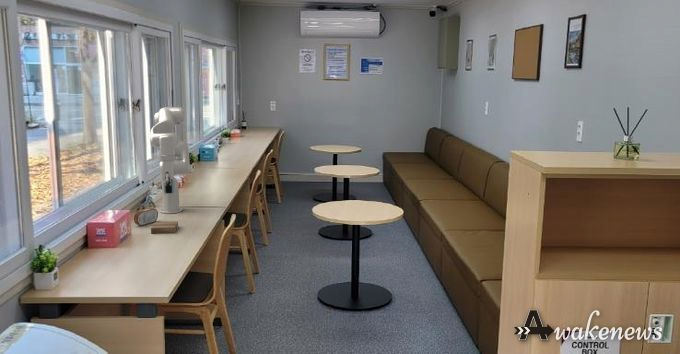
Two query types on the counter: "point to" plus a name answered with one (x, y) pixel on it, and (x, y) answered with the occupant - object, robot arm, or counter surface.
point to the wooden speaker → (146, 216)
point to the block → (172, 187)
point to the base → (164, 227)
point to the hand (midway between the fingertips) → (169, 191)
